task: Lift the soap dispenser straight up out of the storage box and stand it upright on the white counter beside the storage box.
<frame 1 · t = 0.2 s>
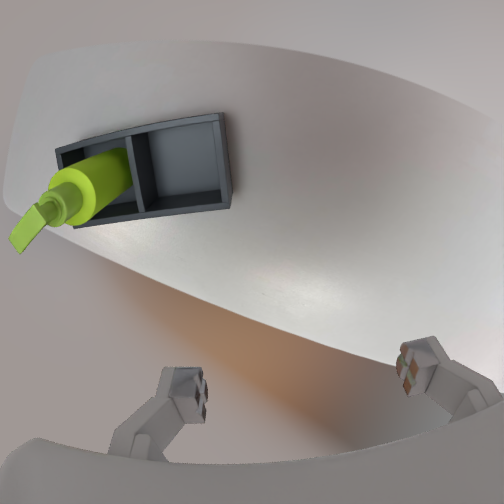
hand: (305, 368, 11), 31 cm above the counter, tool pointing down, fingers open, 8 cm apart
soap dispenser: (117, 170, 38), resting on storage box
storage box: (151, 164, 38), on the counter
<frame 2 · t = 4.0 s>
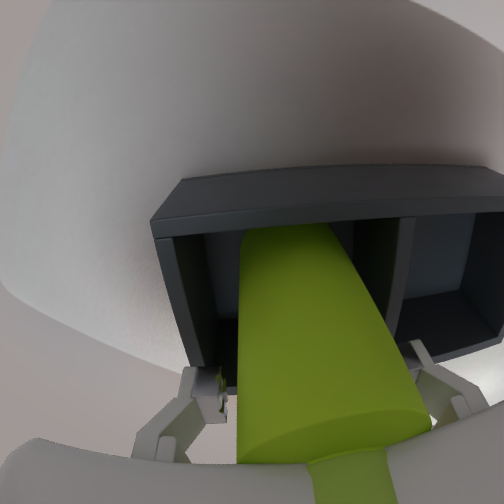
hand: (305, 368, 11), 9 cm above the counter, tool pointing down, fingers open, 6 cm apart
soap dispenser: (281, 255, 19), resting on storage box, touching arm, gripper
storage box: (356, 245, 19), on the counter
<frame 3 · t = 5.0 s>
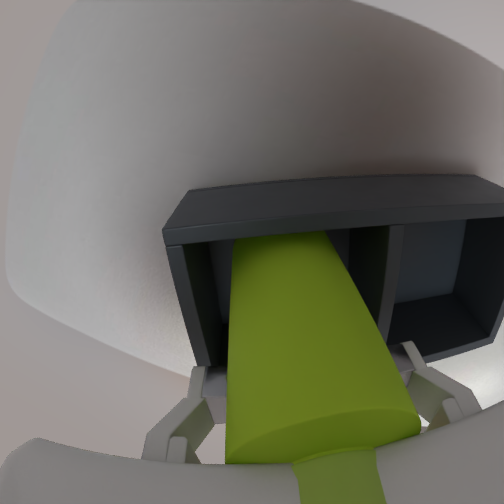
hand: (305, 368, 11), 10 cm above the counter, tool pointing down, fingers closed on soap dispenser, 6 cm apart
soap dispenser: (273, 256, 19), point 1 cm above the counter, touching gripper
storage box: (351, 252, 20), on the counter
when the fingers open (9 cm above the counter, at t = 14.5 s): soap dispenser moves 3 cm, point 1 cm above the counter.
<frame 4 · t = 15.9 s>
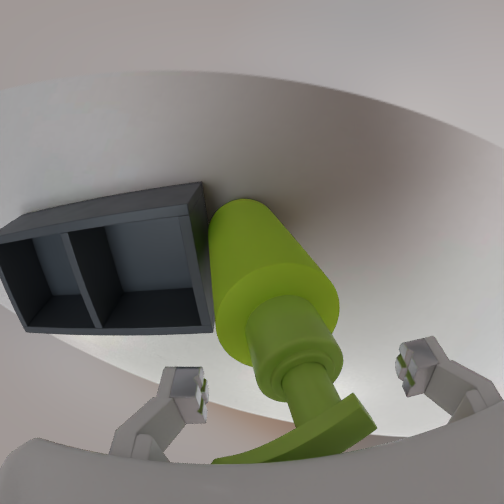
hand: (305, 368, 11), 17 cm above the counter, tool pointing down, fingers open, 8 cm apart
soap dispenser: (237, 236, 26), point 1 cm above the counter, touching gripper
storage box: (109, 250, 28), on the counter
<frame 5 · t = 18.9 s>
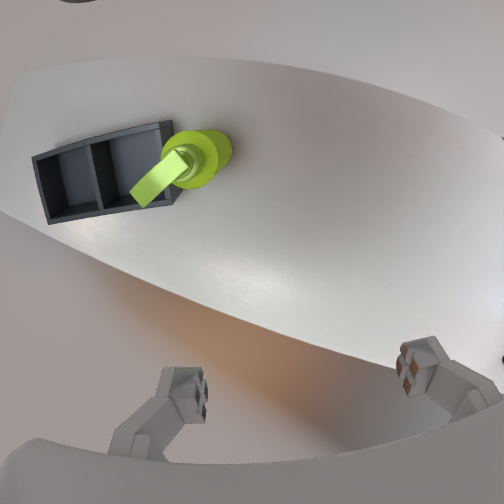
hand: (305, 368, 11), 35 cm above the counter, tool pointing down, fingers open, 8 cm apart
soap dispenser: (208, 152, 41), on the counter
storage box: (112, 167, 42), on the counter
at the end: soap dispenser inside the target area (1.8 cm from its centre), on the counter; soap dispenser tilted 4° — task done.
